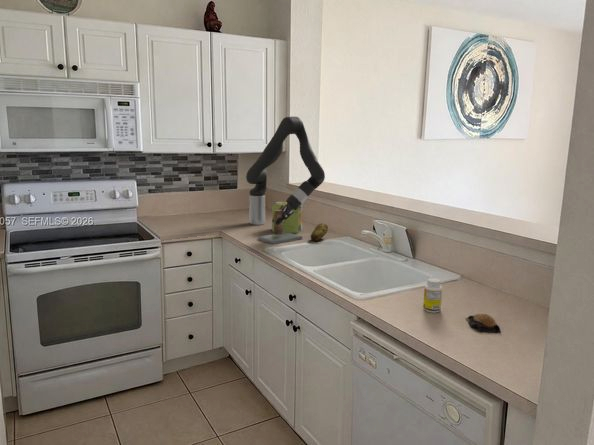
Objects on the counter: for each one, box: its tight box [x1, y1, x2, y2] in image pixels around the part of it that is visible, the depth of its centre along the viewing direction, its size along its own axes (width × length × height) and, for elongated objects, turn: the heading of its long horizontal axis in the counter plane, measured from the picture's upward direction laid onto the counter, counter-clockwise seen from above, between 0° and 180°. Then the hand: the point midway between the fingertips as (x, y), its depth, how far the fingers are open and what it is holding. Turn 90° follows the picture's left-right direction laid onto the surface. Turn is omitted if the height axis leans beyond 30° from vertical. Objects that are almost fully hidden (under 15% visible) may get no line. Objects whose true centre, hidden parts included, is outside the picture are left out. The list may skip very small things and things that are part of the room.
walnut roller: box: [273, 210, 283, 234], centre depth 248 cm, size 5×5×12 cm
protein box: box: [271, 201, 303, 234], centre depth 271 cm, size 10×15×16 cm
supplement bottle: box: [423, 277, 443, 314], centre depth 155 cm, size 6×6×10 cm
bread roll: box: [465, 313, 502, 334], centre depth 144 cm, size 11×9×4 cm
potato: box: [310, 223, 329, 242], centre depth 250 cm, size 8×13×8 cm, turn 133°
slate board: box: [257, 232, 303, 245], centre depth 251 cm, size 13×19×2 cm
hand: (274, 223), depth 247 cm, fingers closed on walnut roller, 4 cm apart
